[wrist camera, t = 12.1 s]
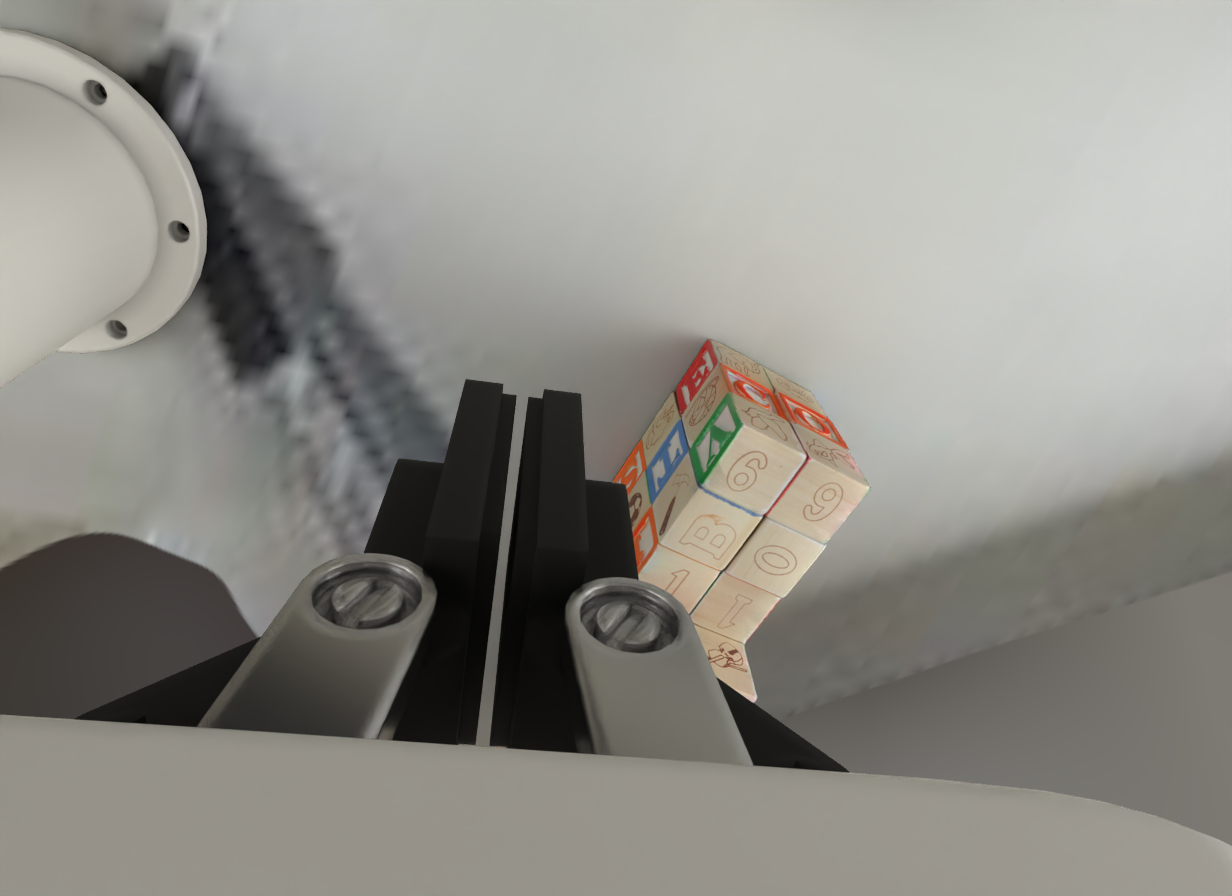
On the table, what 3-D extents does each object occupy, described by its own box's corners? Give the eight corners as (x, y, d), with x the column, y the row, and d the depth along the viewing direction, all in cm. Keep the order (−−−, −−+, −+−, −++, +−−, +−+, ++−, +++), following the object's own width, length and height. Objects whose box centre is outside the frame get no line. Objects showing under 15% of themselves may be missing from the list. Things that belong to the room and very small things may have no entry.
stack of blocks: (705, 331, 38) (763, 461, 27) (812, 389, 39) (907, 533, 29) (503, 645, 46) (485, 840, 35) (599, 681, 48) (610, 878, 37)
